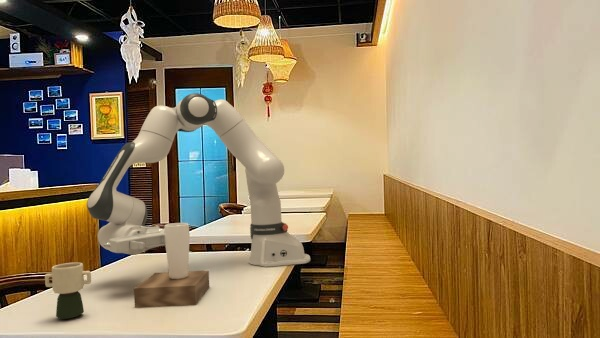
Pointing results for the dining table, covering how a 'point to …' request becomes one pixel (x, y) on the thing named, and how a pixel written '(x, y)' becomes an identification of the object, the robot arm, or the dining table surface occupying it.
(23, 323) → the dining table surface
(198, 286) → the walnut riser dock
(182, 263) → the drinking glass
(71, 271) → the character mug
